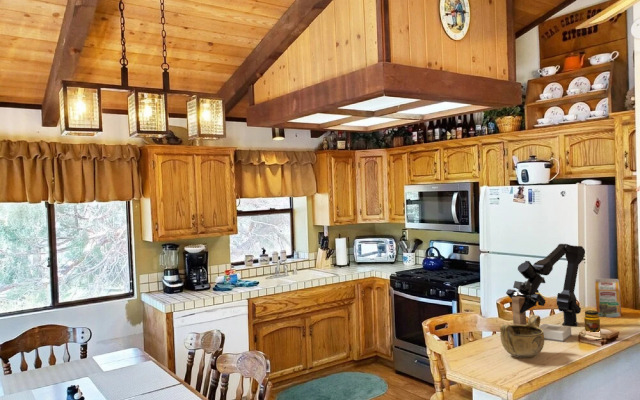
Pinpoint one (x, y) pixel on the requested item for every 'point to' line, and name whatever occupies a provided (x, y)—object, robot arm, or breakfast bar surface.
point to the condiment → (592, 321)
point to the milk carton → (608, 298)
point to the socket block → (556, 332)
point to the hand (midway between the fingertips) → (516, 311)
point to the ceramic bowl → (523, 338)
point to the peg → (518, 311)
